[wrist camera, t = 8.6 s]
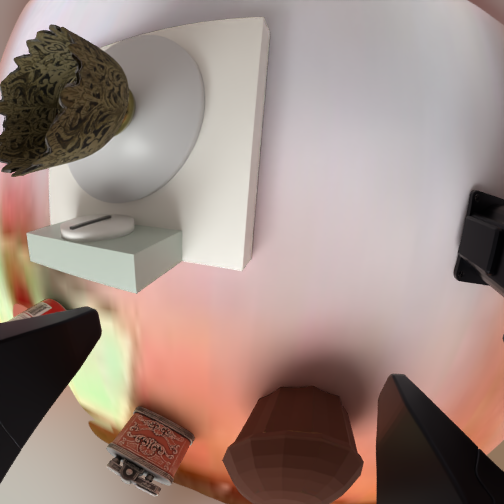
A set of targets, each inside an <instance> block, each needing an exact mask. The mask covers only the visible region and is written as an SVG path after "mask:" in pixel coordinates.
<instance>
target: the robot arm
mask: <svg viewBox="0 0 504 504" xmlns="http://www.w3.org/2000/svg"><path fill="white" fill-rule="evenodd" d="M475 195H477V200H475ZM458 253H459V255H458V259H457V263H456V266H455V270H454V277H455V278H456V279H457V280H458V281H462V282H469V283H476V284H482V285H489V286H491V287H492V288H493V289H495V290H496V291H497V292H498V293H499V294H501V295H502V296H503V297H504V200H503V199H501V198H498V197H495V196H492V195H489V194H486V193H483V192H480V191H476V190H473V191H472V192H471V193H470V197H469V204H468V210H467V216H466V218H465V223H464V228H463V233H462V238H461V242H460V247H459V251H458ZM461 271H462V273H461V275H460V276H459V273H460V272H461ZM101 333H102V330H101V325H100V320H99V315H98V312H97V311H96V310H95V309H93V308H90V307H81V308H76V309H71V310H66V311H61V312H56V313H51V314H46V315H41V316H36V317H30V318H25V319H20V320H14V321H9V322H4V323H0V483H1V482H2V480H3V478H4V477H5V475H6V473H7V472H8V470H9V468H10V467H11V465H12V464H13V462H14V461H15V459H16V457H17V456H18V454H19V453H20V451H21V449H22V448H23V446H24V445H25V443H26V442H27V440H28V439H29V437H30V436H31V434H32V433H33V432H34V430H35V429H36V427H37V426H38V424H39V423H40V422H41V420H42V419H43V417H44V416H45V415H46V413H47V412H48V410H49V409H50V408H51V406H52V405H53V403H54V402H55V401H56V399H57V398H58V397H59V396H60V394H61V393H62V392H63V390H64V389H65V388H66V386H67V385H68V384H69V382H70V381H71V380H72V379H73V377H74V376H75V375H76V373H77V372H78V371H79V369H80V368H81V366H82V365H83V363H84V362H85V360H86V359H87V357H88V355H89V354H90V352H91V351H92V349H93V348H94V346H95V345H96V343H97V342H98V340H99V339H100V337H101ZM503 341H504V335H503ZM376 466H377V504H504V472H503V471H502V470H501V469H500V468H499V467H498V466H497V465H496V464H495V463H494V462H493V461H492V460H490V459H489V458H488V457H487V456H486V455H485V454H484V453H483V451H482V450H481V449H478V447H477V446H476V445H475V444H474V442H473V441H472V440H471V439H470V438H469V437H468V436H467V435H466V434H465V433H464V432H463V431H462V430H461V429H460V428H459V427H458V426H457V425H456V424H455V423H454V422H452V421H451V420H450V419H449V418H448V417H447V416H446V415H445V414H444V413H443V412H442V411H441V410H440V409H439V408H438V407H437V406H436V405H435V404H434V403H433V402H432V401H431V400H430V399H429V398H428V397H427V396H426V395H425V394H424V393H423V392H422V391H421V390H420V389H419V388H418V387H417V386H416V385H415V384H414V383H413V382H412V381H411V380H410V379H409V378H407V377H406V376H405V375H403V374H391V375H390V376H389V377H388V379H387V381H386V383H385V385H384V387H383V389H382V391H381V393H380V395H379V399H378V418H377V437H376Z"/></svg>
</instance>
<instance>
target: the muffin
mask: <svg viewBox="0 0 504 504" xmlns="http://www.w3.org/2000/svg"><path fill="white" fill-rule="evenodd" d="M222 461H223V463H224V465H225V467H226V469H227V471H228V473H229V475H230V477H231V479H232V481H233V483H234V485H235V486H236V488H237V489H238V491H239V492H240V493H241V494H242V495H243V496H244V497H245V498H246V499H248V500H249V501H250V502H252V503H253V504H330V503H332V502H333V501H335V500H336V499H338V498H339V497H341V496H342V495H343V494H344V493H345V492H346V491H347V490H348V489H349V488H350V487H351V486H352V484H353V483H354V482H355V481H356V480H357V478H358V477H359V476H360V475H361V471H362V467H363V463H364V462H363V460H362V458H361V456H360V455H359V454H358V453H357V449H356V444H355V440H354V436H353V432H352V428H351V425H350V421H349V417H348V413H347V412H346V411H345V409H344V408H343V406H342V404H341V401H340V398H339V396H336V395H333V394H329V393H326V392H324V391H322V390H320V389H318V388H316V387H314V386H308V387H299V388H292V387H280V388H279V389H278V390H276V391H275V392H273V393H272V394H270V395H268V396H265V397H263V398H261V399H259V400H258V402H257V404H256V406H255V407H254V409H253V411H252V413H251V415H250V416H249V418H248V420H247V422H246V423H245V425H244V427H243V429H242V430H241V432H240V434H239V435H238V437H237V439H236V441H235V442H234V443H233V444H231V445H230V446H229V447H228V449H227V451H226V453H225V455H224V458H223V460H222Z"/></svg>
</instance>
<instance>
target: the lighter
mask: <svg viewBox="0 0 504 504" xmlns="http://www.w3.org/2000/svg"><path fill="white" fill-rule="evenodd" d="M194 438H195V437H194V435H193V434H192V433H190V432H189V431H187V430H186V429H184V428H182V427H181V426H179V425H177V424H175V423H173V422H172V421H170V420H168V419H166V418H164V417H162V416H160V415H158V414H156V413H154V412H152V411H150V410H148V409H145V408H143V407H137V408H136V410H135V411H134V413H133V416H132V417H131V419H130V420H129V421H128V423H127V424H126V425H125V427H124V428H123V429H122V431H121V432H120V433H119V434H118V436H117V437H116V438H115V440H114V441H113V442H112V443H110V444H109V445H108V446H107V451H108V452H109V453H110V454H111V455H112V456H114V457H115V458H113V459H112V460H111V461H110V462H109V463H108V465H107V468H108V469H109V470H111V471H112V472H114V473H115V474H117V475H119V476H120V477H121V480H122V481H123V482H124V483H126V484H131V483H132V484H134V485H136V487H137V488H139V489H141V490H143V491H145V492H146V493H149V494H150V495H153V496H155V495H156V496H157V495H158V494H159V492H160V490H161V488H160V487H158V486H156V485H154V484H152V483H150V482H152V481H153V480H155V481H157V482H160V483H162V484H165V485H171V484H172V482H173V480H174V478H173V477H174V475H175V473H176V471H177V469H178V467H179V465H180V463H181V461H182V459H183V457H184V456H185V454H186V452H187V450H188V448H189V446H190V445H192V443H193V441H194ZM120 461H121V462H123V466H120V465H119V464H120ZM142 475H145V476H146V477H145V479H143V478H141V477H139V476H142Z"/></svg>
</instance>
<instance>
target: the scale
mask: <svg viewBox="0 0 504 504" xmlns="http://www.w3.org/2000/svg"><path fill="white" fill-rule="evenodd" d="M269 41H270V31H269V29H268V26H267V24H266V21H265V19H264V17H249V18H233V19H222V20H213V21H206V22H199V23H192V24H186V25H181V26H176V27H171V28H166V29H162V30H157V31H153V32H149V33H145V34H142V35H138V36H135V37H131V38H128V39H125V40H122V41H118V42H115V43H112V44H110V45H107V46H104V47H101V48H100V49H101V50H103V51H104V52H106V53H107V54H109V55H110V56H111V57H112V58H114V59H115V60H116V61H117V62H118V64H119V65H120V66H121V67H122V69H123V71H124V73H125V75H126V77H127V81H128V86H129V89H130V90H131V91H132V93H133V95H134V97H135V101H136V110H135V114H134V117H133V119H132V121H131V123H130V125H129V126H128V127H127V128H126V129H125V130H124V131H123V132H122V133H120V134H119V135H117V136H114V137H113V138H112V139H111V140H110V141H109V142H108V143H107V144H106V145H105V146H104V147H103V148H101V149H100V150H98V151H97V152H95V153H94V154H92V155H90V156H88V157H85V158H83V159H80V160H77V161H74V162H70V163H67V164H63V165H59V166H55V167H51V168H49V207H50V223H51V225H50V226H47V227H44V228H40V229H37V230H34V231H31V232H28V233H27V240H28V248H29V255H30V261H32V262H35V263H38V264H41V265H44V266H46V267H49V268H52V269H55V270H58V271H61V272H65V273H68V274H71V275H74V276H77V277H80V278H84V279H87V280H90V281H94V282H97V283H100V284H104V285H107V286H111V287H114V288H118V289H121V290H125V291H129V292H133V293H136V294H137V293H138V292H140V291H141V290H142V289H144V288H145V287H146V286H148V285H149V284H151V283H152V282H153V281H155V280H156V279H158V278H159V277H160V276H162V275H163V274H165V273H166V272H167V271H169V270H170V269H172V268H173V267H174V266H176V265H177V264H179V263H180V262H181V261H185V262H191V263H197V264H203V265H209V266H215V267H221V268H227V269H233V270H239V271H243V269H244V268H245V267H246V265H247V264H248V263H249V261H250V260H251V255H252V243H253V231H254V219H255V207H256V196H257V184H258V172H259V160H260V148H261V136H262V124H263V112H264V101H265V89H266V77H267V65H268V53H269Z"/></svg>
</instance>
